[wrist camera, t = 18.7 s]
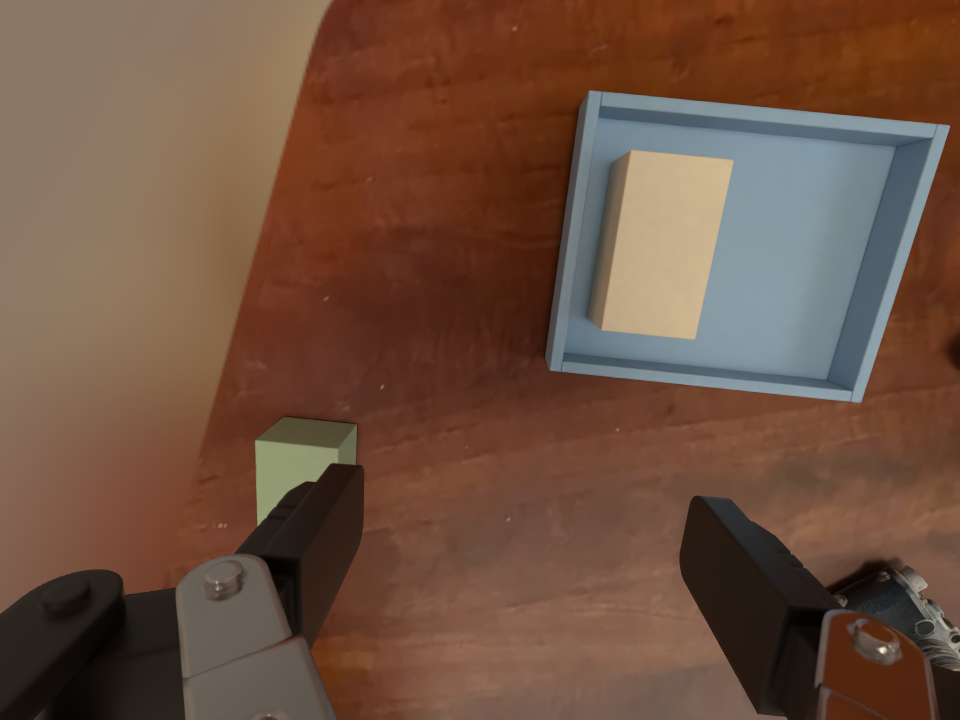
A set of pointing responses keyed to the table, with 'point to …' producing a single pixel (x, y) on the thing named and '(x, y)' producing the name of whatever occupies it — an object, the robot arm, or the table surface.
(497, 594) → the table surface
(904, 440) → the table surface
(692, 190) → the pad
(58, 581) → the robot arm
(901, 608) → the camera
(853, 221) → the blue tray
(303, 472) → the pad
